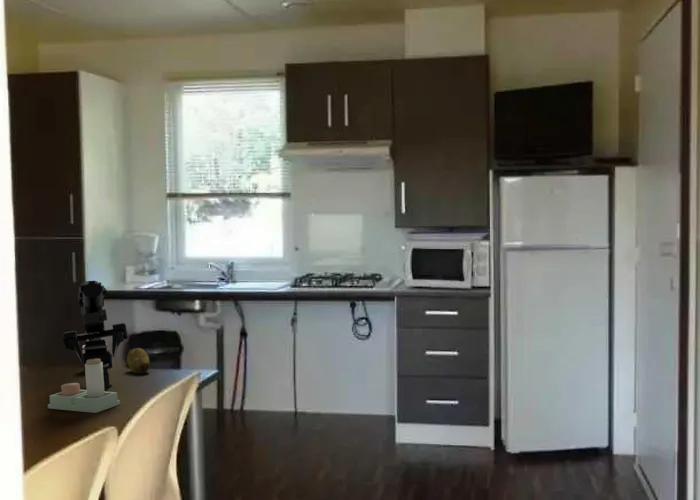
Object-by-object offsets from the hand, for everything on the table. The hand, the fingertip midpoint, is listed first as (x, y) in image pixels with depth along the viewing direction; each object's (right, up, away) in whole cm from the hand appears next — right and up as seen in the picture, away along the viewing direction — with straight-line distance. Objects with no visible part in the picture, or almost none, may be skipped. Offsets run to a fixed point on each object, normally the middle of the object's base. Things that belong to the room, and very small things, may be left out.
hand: (97, 359), depth 246 cm
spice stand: (-3, -14, -3) cm, 14 cm away
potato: (+1, -11, +45) cm, 46 cm away
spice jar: (+1, -12, -5) cm, 13 cm away
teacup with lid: (-16, -11, +51) cm, 55 cm away
